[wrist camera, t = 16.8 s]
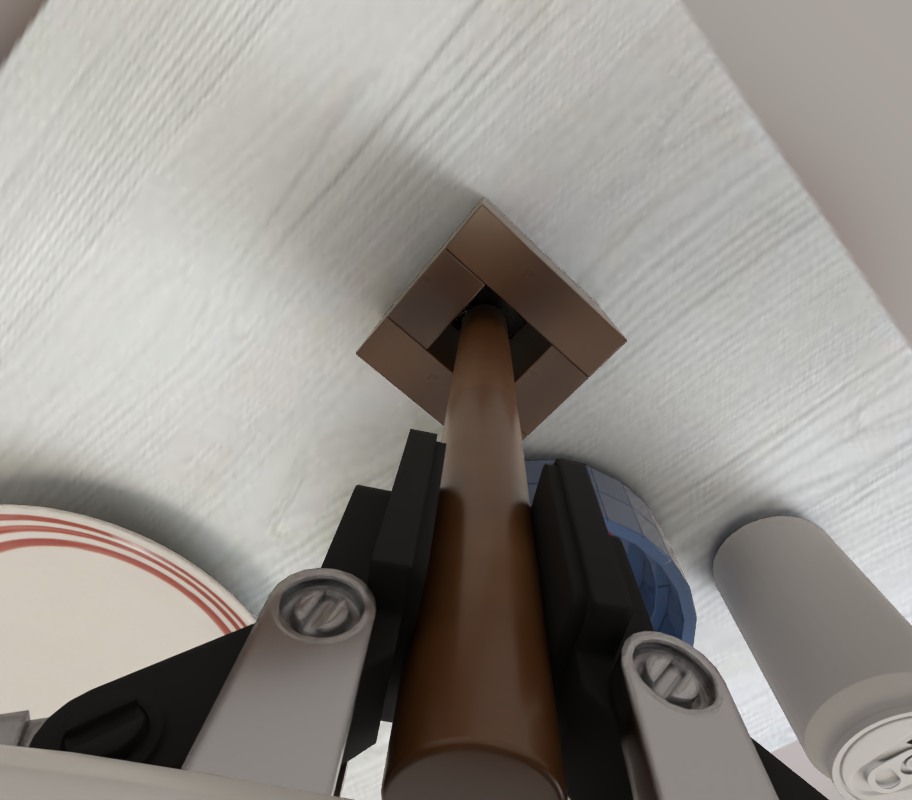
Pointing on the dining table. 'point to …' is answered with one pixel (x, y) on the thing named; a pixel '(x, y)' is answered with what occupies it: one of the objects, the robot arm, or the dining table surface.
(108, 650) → the dinner plate
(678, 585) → the bowl
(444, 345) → the holder
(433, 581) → the stirring stick
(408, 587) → the robot arm
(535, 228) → the dining table surface
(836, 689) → the beverage can
